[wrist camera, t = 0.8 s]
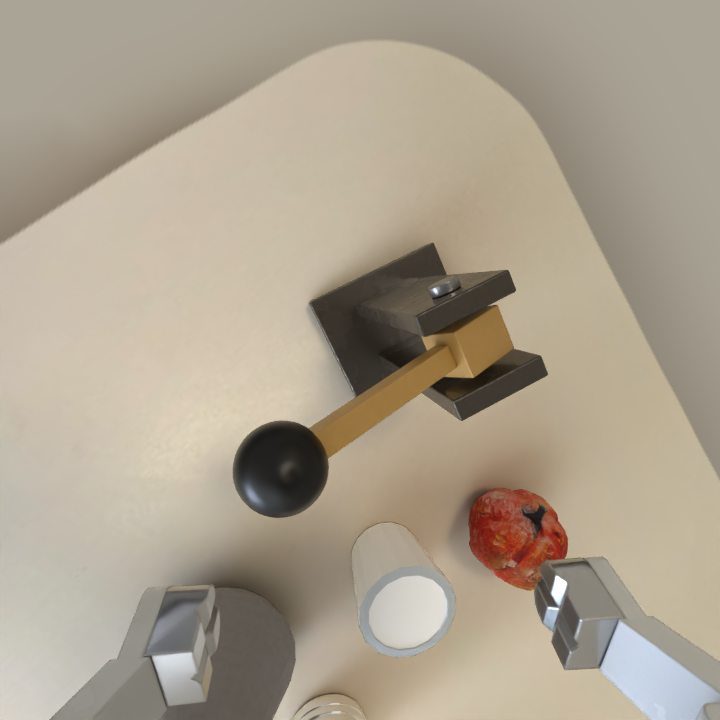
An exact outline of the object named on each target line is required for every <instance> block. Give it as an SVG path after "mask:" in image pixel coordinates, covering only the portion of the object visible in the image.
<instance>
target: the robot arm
mask: <svg viewBox="0 0 720 720" xmlns="http://www.w3.org/2000/svg"><path fill="white" fill-rule="evenodd" d="M539 572H540V574H541V576H542V578H541V579H540V580H539V581H538V582H537V583H536V586H535V591H534V596H535V605H536V608H537V611H538V614H539V616H540V619H541V621H542V623H543V624H544V625H545V626H546V627H547V628H549V629H550V630H551V631H552V632H553V636H552V641H551V642H552V644H553V647H554V649H555V651H556V653H557V655H558V657H559V659H560V661H561V663H562V665H563V668H564V670H577V669H595V668H600V671H601V672H602V673H603V674H604V675H605V676H606V677H607V678H608V679H609V680H610V681H611V682H612V683H613V684H614V685H615V686H616V687H617V688H618V689H619V690H620V691H621V692H622V693H623V694H625V695H626V696H627V697H628V698H629V699H630V700H631V701H632V702H633V703H634V704H635V705H636V706H637V707H638V708H639V709H640V710H641V711H642V712H643V713H644V714H645V715H646V716H647V717H648V718H649V719H650V720H720V662H719V661H718V660H716V659H715V658H713V657H712V656H711V655H709V654H708V653H706V652H705V651H703V650H702V649H700V648H699V647H697V646H696V645H694V644H693V643H691V642H690V641H688V640H687V639H686V638H684V637H683V636H681V635H680V634H678V633H677V632H675V631H674V630H672V629H671V628H669V627H668V626H666V625H665V624H664V623H662V622H661V621H659V620H658V619H656V618H655V617H653V616H646V614H645V613H644V612H643V610H642V609H641V607H640V606H639V604H638V603H637V602H636V600H635V599H634V597H633V596H632V595H631V593H630V592H629V590H628V589H627V587H626V586H625V585H624V583H623V582H622V580H621V579H620V578H619V576H618V575H617V573H616V572H615V570H614V569H613V568H612V566H611V565H610V563H609V562H608V561H607V560H606V559H605V558H604V557H589V558H570V559H558V560H547V561H544V562H542V563H541V566H540V570H539ZM215 597H216V591H215V587H214V585H193V586H169V587H152V588H147V589H146V591H145V592H144V593H143V595H142V597H141V600H140V602H139V605H138V607H137V610H136V612H135V615H134V617H133V620H132V622H131V625H130V627H129V630H128V632H127V635H126V637H125V640H124V642H123V645H122V648H121V650H120V653H119V655H118V658H117V659H113V660H109V661H108V662H107V663H106V664H105V665H104V666H103V667H102V668H101V669H100V670H99V671H98V672H97V673H96V674H95V675H94V676H93V677H92V678H91V679H90V680H89V681H88V682H87V683H86V684H85V685H84V686H83V687H82V688H81V689H80V690H79V691H78V692H77V693H76V694H75V695H74V696H73V697H72V698H71V699H70V700H69V701H68V702H67V703H66V704H65V705H64V706H63V707H62V708H61V709H60V710H59V711H58V712H57V713H56V714H55V715H54V716H53V717H52V718H51V719H50V720H160V718H161V717H162V716H163V714H164V713H165V711H166V710H167V707H168V706H177V705H185V704H193V703H202V702H206V700H207V695H208V690H209V686H210V681H211V676H212V671H213V669H212V665H211V660H210V657H211V656H212V655H213V654H214V653H215V651H216V650H217V646H218V641H219V634H220V611H219V606H218V605H216V604H215V603H214V601H215Z"/></svg>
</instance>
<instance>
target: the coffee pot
mask: <svg viewBox="0 0 720 720" xmlns="http://www.w3.org/2000/svg"><path fill="white" fill-rule="evenodd" d="M215 591H216V597H215V601H214V603H215V604H216V605H218V606H219V611H220V634H219V641H218V646H217V650H216V651H215V653H214V654H213V655H212V656H211V657H210V660H211V665H212V669H213V671H212V676H211V681H210V686H209V690H208V695H207V700H206V702H202V703H193V704H185V705H177V706H168V707H167V710H166V711H165V713H164V714H163V716H162V717H161V718H160V720H272V719H273V717H274V715H275V713H276V711H277V709H278V707H279V704H280V702H281V700H282V698H283V696H284V694H285V692H286V689H287V687H288V685H289V683H290V681H291V677H292V673H293V669H294V665H295V661H296V659H295V642H294V639H293V636H292V633H291V630H290V628H289V625H288V623H287V622H286V620H285V619H284V618H283V616H282V615H281V614H280V613H279V611H278V610H277V609H276V607H275V606H274V605H273V604H271V603H270V602H268V601H267V600H266V599H264V598H263V597H262V596H260V595H258V594H255V593H252V592H250V591H247V590H244V589H239V588H229V587H219V588H215Z"/></svg>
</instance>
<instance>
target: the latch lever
mask: <svg viewBox="0 0 720 720" xmlns="http://www.w3.org/2000/svg"><path fill="white" fill-rule="evenodd" d="M421 338H422V340H423V342H424V344H425V347H426V349H427V351H426V352H425V353H423V354H421V355H420V356H418V357H417V358H415V359H414V360H412V361H411V362H409V363H408V364H406V365H405V366H403V367H402V368H400V369H399V370H397V371H396V372H394V373H392V374H391V375H389V376H388V377H386V378H385V379H383V380H382V381H380V382H379V383H377V384H376V385H374V386H373V387H371V388H370V389H368V390H367V391H365V392H363V393H362V394H360V395H359V396H357V397H356V398H354V399H353V400H351V401H350V402H348V403H347V404H345V405H344V406H342V407H341V408H339V409H338V410H336V411H334V412H333V413H331V414H330V415H328V416H327V417H325V418H324V419H322V420H321V421H319V422H318V423H316V424H315V425H313V426H312V427H310V428H309V429H308V428H307V427H305V426H303V425H301V424H298V423H295V422H291V421H274V422H270V423H267V424H264V425H262V426H260V427H258V428H256V429H255V430H253V431H252V432H251V433H250V434H249V435H248V436H247V437H246V438H245V439H244V440H243V442H242V443H241V445H240V446H239V448H238V450H237V452H236V455H235V458H234V463H233V479H234V484H235V487H236V490H237V492H238V494H239V496H240V497H241V499H242V500H243V501H244V502H245V504H246V505H247V506H249V507H250V508H251V509H253V510H254V511H256V512H257V513H259V514H262V515H264V516H268V517H274V518H282V517H289V516H293V515H296V514H298V513H300V512H302V511H304V510H306V509H307V508H308V507H310V506H311V505H312V504H313V503H314V502H315V501H316V500H317V499H318V497H319V496H320V494H321V493H322V491H323V489H324V487H325V484H326V481H327V477H328V469H329V466H328V458H329V457H331V456H332V455H333V454H335V453H336V452H338V451H339V450H341V449H342V448H343V447H345V446H346V445H348V444H349V443H351V442H352V441H353V440H355V439H356V438H358V437H359V436H360V435H362V434H363V433H365V432H366V431H368V430H369V429H370V428H372V427H373V426H375V425H376V424H377V423H379V422H380V421H382V420H383V419H385V418H386V417H387V416H389V415H390V414H392V413H393V412H394V411H396V410H397V409H399V408H400V407H402V406H403V405H404V404H406V403H407V402H409V401H410V400H411V399H413V398H414V397H416V396H417V395H419V394H420V393H421V392H423V391H424V390H426V389H427V388H428V387H430V386H431V385H433V384H434V383H436V382H437V381H438V380H440V379H441V378H443V377H458V378H474V377H476V376H477V375H478V374H480V373H481V372H482V371H484V370H485V369H487V368H488V367H489V366H491V365H492V364H493V363H495V362H496V361H497V360H499V359H500V358H501V357H503V356H504V355H506V354H507V353H508V352H510V351H511V350H512V349H514V346H513V344H512V341H511V338H510V336H509V333H508V331H507V328H506V326H505V323H504V321H503V318H502V315H501V313H500V310H499V308H498V305H492V306H486V307H484V308H482V309H480V310H478V311H476V312H474V313H472V314H470V315H468V316H466V317H464V318H462V319H460V320H458V321H457V322H455V323H453V324H451V325H449V326H447V327H445V328H443V329H441V330H439V331H437V332H435V333H433V334H431V335H429V336H427V337H423V336H421Z"/></svg>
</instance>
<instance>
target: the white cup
mask: <svg viewBox="0 0 720 720" xmlns="http://www.w3.org/2000/svg"><path fill="white" fill-rule="evenodd" d="M352 571H353V579H354V588H355V596H356V604H357V613H358V621H359V627H360V630H361V632H362V634H363V636H364V639H365V641H366V643H368V644H369V645H370V646H371V647H373V648H374V649H375V650H376V651H377V652H379V653H381V654H385V655H389V656H393V657H396V658H398V657H405V656H413V655H417V654H419V653H421V652H423V651H425V650H427V649H429V648H431V647H433V646H434V645H435V644H436V643H437V642H438V641H439V640H440V639H441V638H442V637H443V636H444V635H445V634H446V633H447V631H448V629H449V627H450V625H451V623H452V621H453V618H454V616H455V604H456V597H455V595H454V592H453V590H452V587H451V584H450V582H449V581H448V580H447V578H446V577H445V576H444V574H443V573H442V572H441V570H440V569H439V568H438V567H437V565H436V564H435V563H434V561H433V560H432V559H431V557H430V556H429V555H428V554H427V552H426V551H425V550H424V548H423V547H422V546H421V544H420V543H419V542H418V540H417V539H416V538H415V537H414V535H413V534H412V533H411V532H410V531H409V530H408V529H407V528H405V527H404V526H402V525H399V524H396V523H393V522H389V523H379V524H376V525H374V526H372V527H370V528H368V529H366V530H365V531H364V532H363V533H362V534H361V535H360V536H359V537H358V538H357V540H356V542H355V545H354V547H353V549H352Z"/></svg>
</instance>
